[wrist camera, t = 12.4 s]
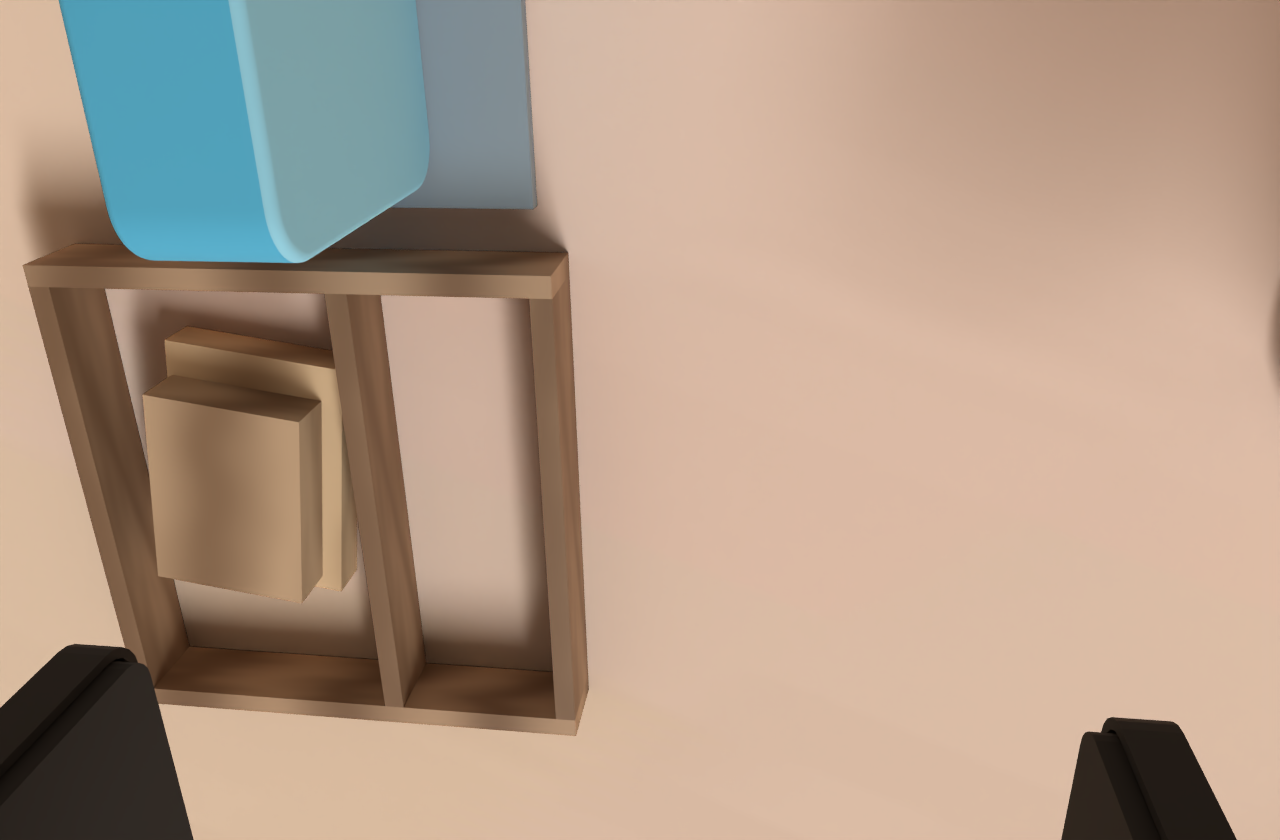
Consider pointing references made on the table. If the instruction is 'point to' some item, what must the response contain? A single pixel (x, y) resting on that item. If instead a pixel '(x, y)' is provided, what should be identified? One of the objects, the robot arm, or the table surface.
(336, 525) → the offcut stack
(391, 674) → the rack
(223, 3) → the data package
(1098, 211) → the table surface
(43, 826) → the robot arm
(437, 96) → the mat
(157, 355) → the table surface
